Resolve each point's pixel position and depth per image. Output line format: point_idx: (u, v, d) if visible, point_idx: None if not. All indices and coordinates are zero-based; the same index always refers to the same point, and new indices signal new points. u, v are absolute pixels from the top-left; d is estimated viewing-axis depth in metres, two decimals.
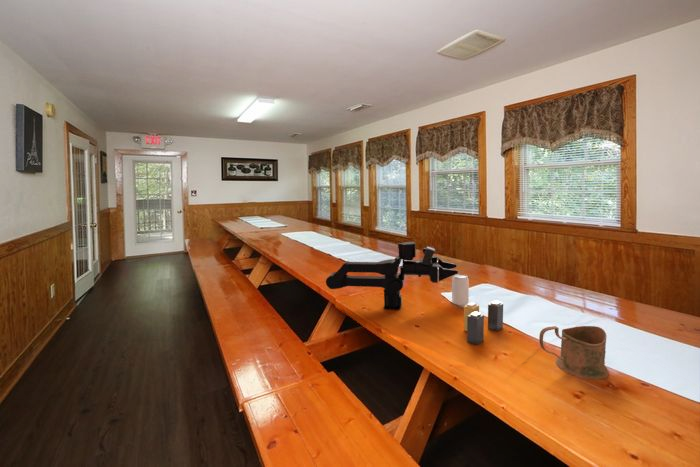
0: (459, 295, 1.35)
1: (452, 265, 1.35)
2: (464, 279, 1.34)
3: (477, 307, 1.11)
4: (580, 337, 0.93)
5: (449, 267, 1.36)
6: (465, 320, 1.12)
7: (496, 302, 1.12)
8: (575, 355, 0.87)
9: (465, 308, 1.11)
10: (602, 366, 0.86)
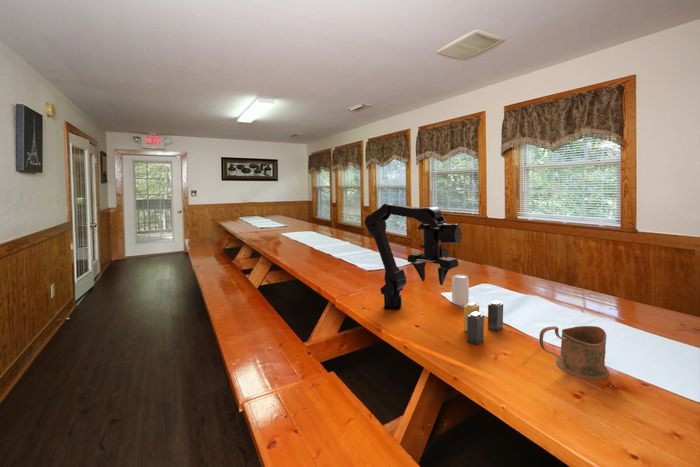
0: (459, 295, 1.35)
1: (424, 277, 1.28)
2: (464, 279, 1.34)
3: (477, 307, 1.11)
4: (580, 337, 0.93)
5: (422, 274, 1.28)
6: (465, 320, 1.12)
7: (496, 302, 1.12)
8: (575, 355, 0.87)
9: (465, 308, 1.11)
10: (602, 366, 0.86)
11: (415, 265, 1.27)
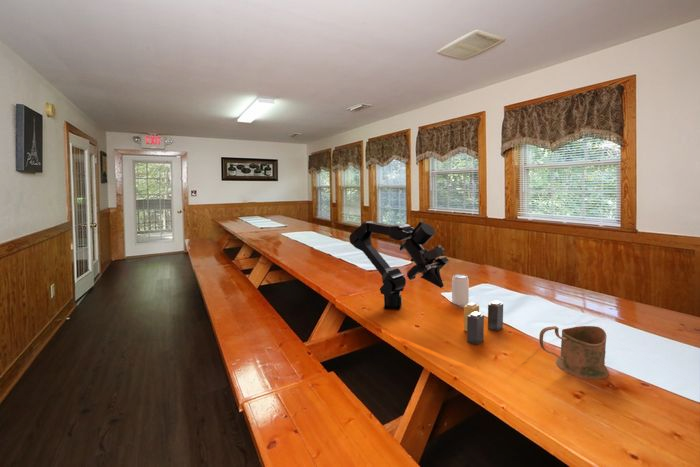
0: (459, 295, 1.35)
1: None
2: (464, 279, 1.34)
3: (477, 307, 1.11)
4: (580, 337, 0.93)
5: None
6: (465, 320, 1.12)
7: (496, 302, 1.12)
8: (575, 355, 0.87)
9: (465, 308, 1.11)
10: (602, 366, 0.86)
11: None
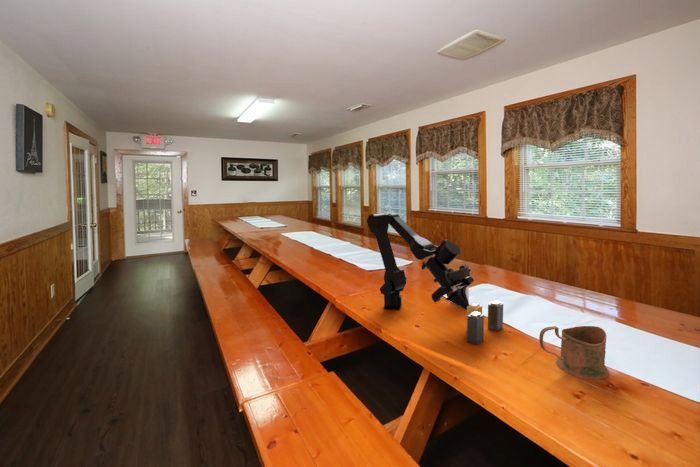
0: None
1: (466, 305, 1.13)
2: None
3: (480, 308, 1.10)
4: (580, 337, 0.93)
5: None
6: None
7: (496, 302, 1.12)
8: (575, 355, 0.87)
9: (468, 309, 1.10)
10: (602, 366, 0.86)
11: None
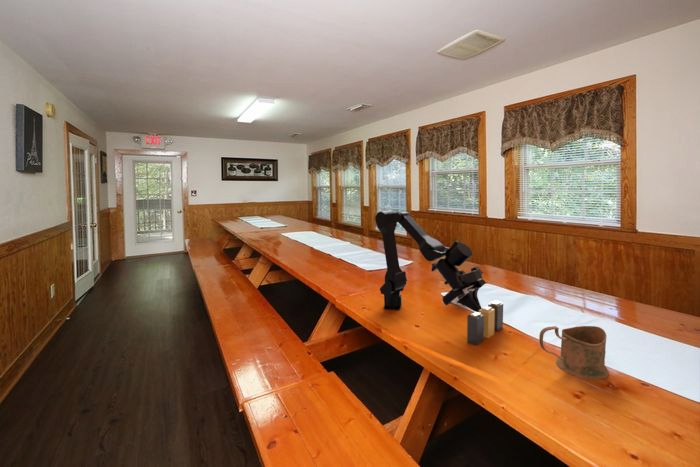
0: None
1: None
2: None
3: (493, 311, 1.07)
4: (580, 337, 0.93)
5: None
6: None
7: (496, 302, 1.12)
8: (575, 355, 0.87)
9: (480, 312, 1.07)
10: (602, 366, 0.86)
11: None
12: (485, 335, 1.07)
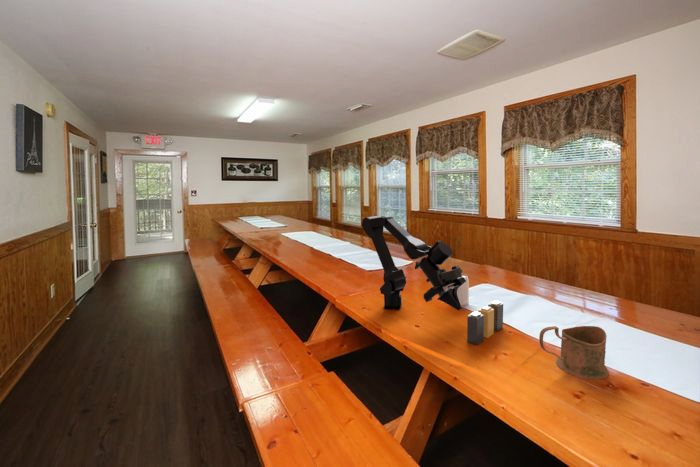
0: (459, 295, 1.35)
1: None
2: None
3: (492, 311, 1.07)
4: (580, 337, 0.93)
5: None
6: None
7: (496, 302, 1.12)
8: (575, 355, 0.87)
9: (479, 312, 1.07)
10: (602, 366, 0.86)
11: None
12: (484, 335, 1.07)
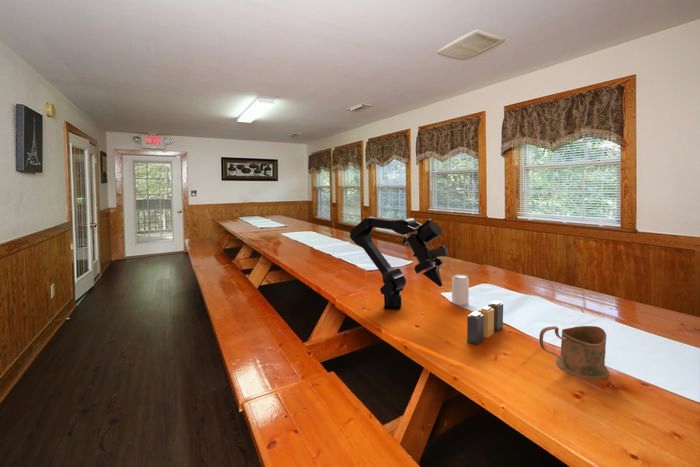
0: (459, 295, 1.35)
1: None
2: (464, 279, 1.34)
3: (492, 311, 1.07)
4: (580, 337, 0.93)
5: None
6: None
7: (496, 302, 1.12)
8: (575, 355, 0.87)
9: (479, 312, 1.07)
10: (602, 366, 0.86)
11: None
12: (484, 335, 1.07)
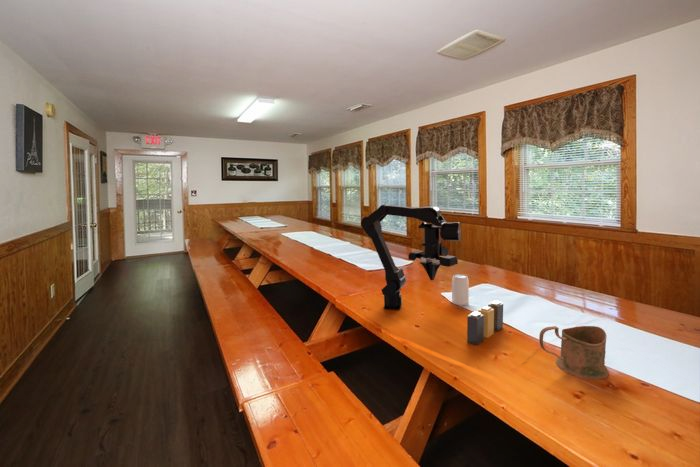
0: (459, 295, 1.35)
1: None
2: (464, 279, 1.34)
3: (492, 311, 1.07)
4: (580, 337, 0.93)
5: None
6: None
7: (496, 302, 1.12)
8: (575, 355, 0.87)
9: (479, 312, 1.07)
10: (602, 366, 0.86)
11: (424, 264, 1.28)
12: (484, 335, 1.07)
